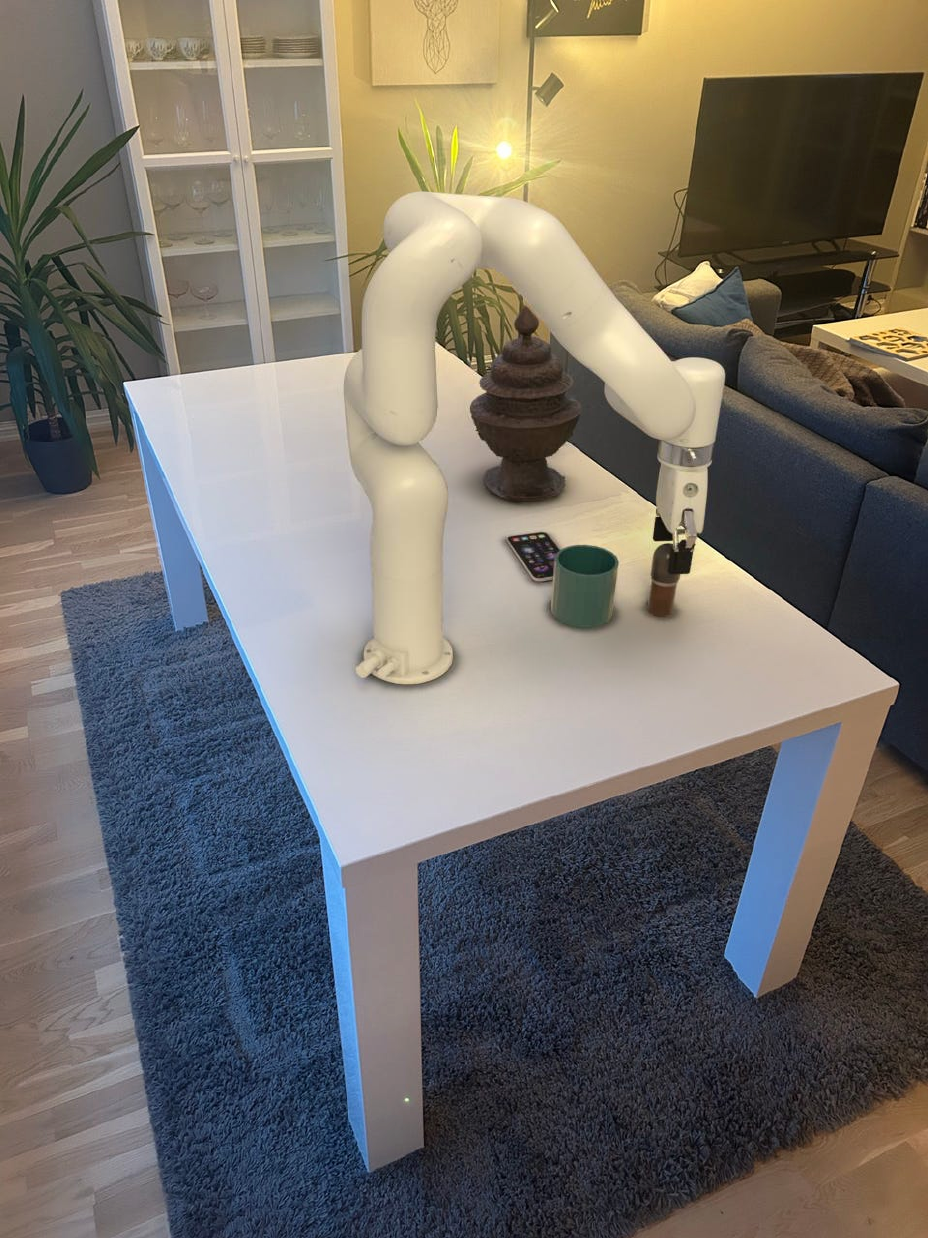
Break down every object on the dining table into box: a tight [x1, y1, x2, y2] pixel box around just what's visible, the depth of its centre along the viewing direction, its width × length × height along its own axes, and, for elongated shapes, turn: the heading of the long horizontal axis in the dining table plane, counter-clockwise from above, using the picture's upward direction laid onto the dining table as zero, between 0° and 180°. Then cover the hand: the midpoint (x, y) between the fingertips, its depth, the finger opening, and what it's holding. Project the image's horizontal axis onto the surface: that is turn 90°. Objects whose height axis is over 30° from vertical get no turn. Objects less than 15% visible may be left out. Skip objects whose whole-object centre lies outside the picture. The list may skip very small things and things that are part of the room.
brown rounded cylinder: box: [646, 542, 681, 617], centre depth 144 cm, size 4×4×11 cm
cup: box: [550, 544, 620, 629], centre depth 144 cm, size 9×9×9 cm
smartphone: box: [506, 531, 561, 582], centre depth 159 cm, size 8×1×15 cm
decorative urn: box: [469, 304, 582, 503], centre depth 173 cm, size 20×20×35 cm
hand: (670, 556), depth 142 cm, fingers open, 9 cm apart
